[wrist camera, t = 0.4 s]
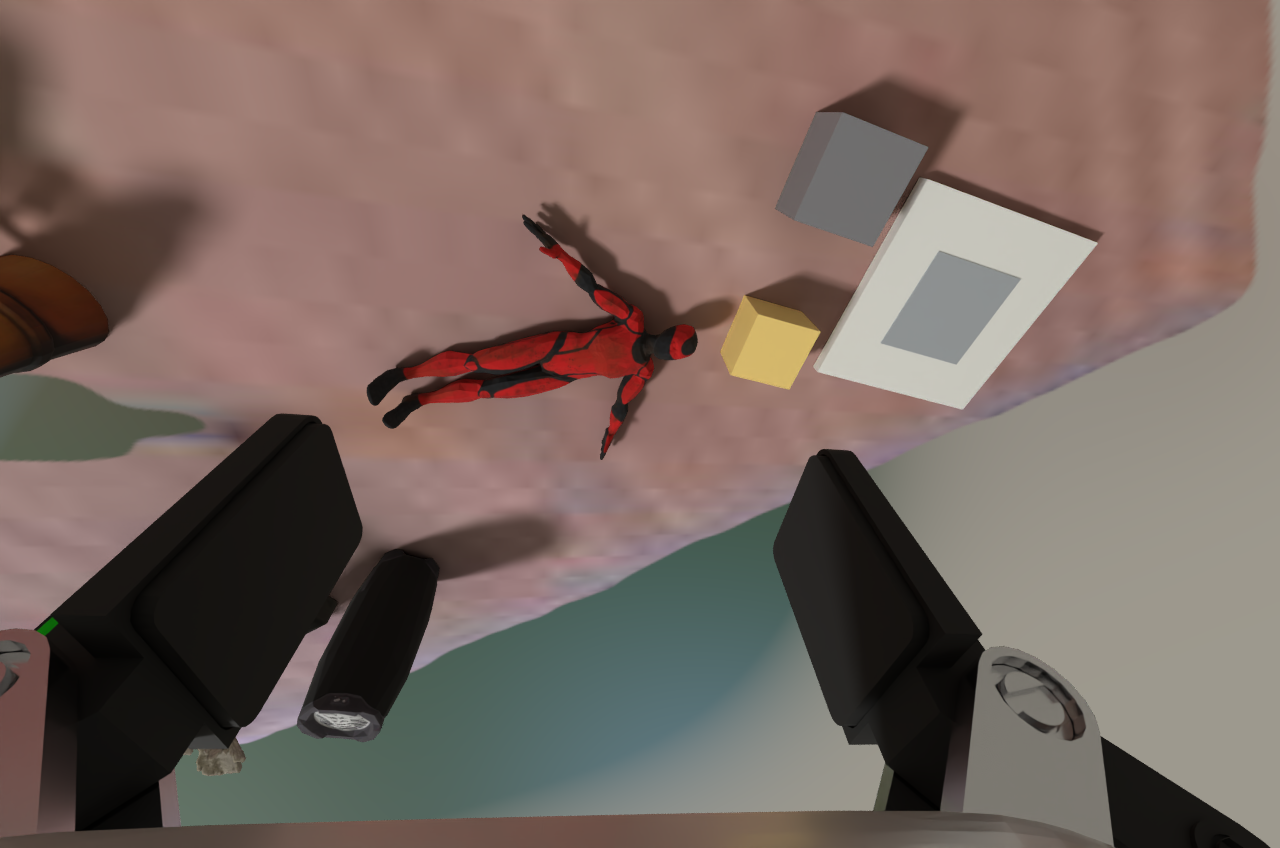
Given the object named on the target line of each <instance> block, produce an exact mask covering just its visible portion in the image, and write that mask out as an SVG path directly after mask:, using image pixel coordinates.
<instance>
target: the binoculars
mask: <svg viewBox="0 0 1280 848" xmlns="http://www.w3.org/2000/svg"><path fill="white" fill-rule="evenodd" d="M108 332H109V329H108V320H107V317H106V315H105V313H104V311H103V309H102V307H101V305H100V304H99V303H98V302H97V301H96V299H95V298H94V297H93V296H92V295H91V294H90V292H89V291H88V290H87V289H85V288H84V287H83V286H82V285H81V284H79V283H78V282H77V281H76V280H75V279H73V278H72V277H71V276H69V275H67V274H66V273H64V272H62V271H60V270H59V269H57V268H55V267H54V266H52V265H49V264H47V263H44V262H41V261H39V260H36V259H34V258H30V257H24V256H18V255H8V256H1V257H0V377H3V376H6V375H9V374H12V373H19V372H27V371H31V370H34V369H36V368H38V367H40V366H42V365H43V364H45V363H47V362H48V361H50V360H51V359H55V358H58V357H61V356H65V355H68V354H71V353H74V352H78V351H81V350H84V349H88V348H91V347H94V346H96V345H98V344H100V343H101V342H103V341H105V338H106V336H107V334H108Z"/></svg>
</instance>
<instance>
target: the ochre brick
mask: <svg viewBox="0 0 1280 848" xmlns="http://www.w3.org/2000/svg"><path fill="white" fill-rule="evenodd" d="M819 334H820V331H819V330H818V328H817V327H816V326H815V325H814V324H813V323H812V322H811V321H810V320H809V319H808V318H807V317H806V316H805V315H804V314H803V313H802V311H798V310H795V309H791V308H788V307H784V306H781V305H777V304H774V303H770V302H767V301H763V300H760V299H756V298H753V297H749V296H746V295H744V297H743V300H742V302H741V304H740V307H739V309H738V311H737V314H736V316H735V318H734V321H733V323H732V326H731V328H730V330H729V333H728V335H727V337H726V340H725V342H724V344H723V347H722V349H721V351H720V352H721V355H722V357H723V359H724V361H725V364H726V366H727V368H728V370H729V373H730V375H733V376H737V377H741V378H745V379H749V380H753V381H757V382H761V383H765V384H769V385H773V386H777V387H781V388H785V389H790V387H791V385H792V383H793V382H794V380H795V378H796V376H797V374H798V372H799V371H800V369H801V367H802V365H803V363H804V361H805V360H806V358H807V356H808V354H809V352H810V350H811V349H812V347H813V345H814V343H815V341H816V339H817V338H818V336H819Z"/></svg>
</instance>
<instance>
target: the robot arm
mask: <svg viewBox="0 0 1280 848" xmlns="http://www.w3.org/2000/svg"><path fill="white" fill-rule="evenodd" d="M361 537H362V523H361V520H360V517H359V514H358V511H357V508H356V504H355V501H354V498H353V495H352V492H351V489H350V486H349V483H348V480H347V477H346V474H345V470H344V467H343V464H342V461H341V458H340V455H339V452H338V449H337V446H336V443H335V440H334V437H333V433H332V431H331V429H330V427H329V426H328V425H326V424H322V422H321V420H320V419H319V418H318V417H316V416H312V415H297V414H276V415H275V416H273V417H272V418H271V419H269V420H268V421H267V422H266V423H265V424H264V425H263V426H262V427H260V428H259V429H258V430H257V431H256V432H255V433H254V434H253V435H251V436H250V437H249V438H248V439H247V440H246V441H245V442H244V443H243V444H241V445H240V446H239V447H238V448H237V449H236V450H235V451H234V452H232V453H231V454H230V455H229V456H228V457H227V458H226V459H225V460H223V461H222V462H221V463H220V464H219V465H218V466H217V467H216V468H214V469H213V470H212V471H211V472H210V473H209V474H208V475H207V476H205V477H204V478H203V479H202V480H201V481H200V482H199V483H198V484H196V485H195V486H194V487H193V488H192V489H191V490H190V491H189V492H187V493H186V494H185V495H184V496H183V497H182V498H181V499H180V500H179V501H177V502H176V503H175V504H174V505H173V506H172V507H171V508H170V509H168V510H167V511H166V512H165V513H164V514H163V515H162V516H161V517H159V518H158V519H157V520H156V521H155V522H154V523H153V524H152V525H150V526H149V527H148V528H147V529H146V530H145V531H144V532H143V533H141V534H140V535H139V536H138V537H137V538H136V539H135V540H134V541H132V542H131V543H130V544H129V545H128V546H127V547H126V548H125V549H123V550H122V551H121V552H120V553H119V554H118V555H117V556H116V557H115V558H113V559H112V560H111V561H110V562H109V563H108V564H107V565H106V566H104V567H103V568H102V569H101V570H100V571H99V572H98V573H97V574H95V575H94V576H93V577H92V578H91V579H90V580H89V581H88V582H86V583H85V584H84V585H83V586H82V587H81V588H80V589H79V590H77V591H76V592H75V593H74V594H73V595H72V596H71V597H70V598H68V599H67V600H66V601H65V602H64V603H63V604H62V605H61V606H59V607H58V608H57V609H56V610H55V611H54V612H53V613H52V614H51V616H52V617H53V618H54V619H55V620H56V621H57V622H58V624H57V625H56V626H55V627H54V628H53V629H52V630H51V631H50V632H48V633H47V634H46V635H45V636H44V635H42V634H40V633H39V632H37V631H35V630H28V629H17V628H15V629H8V630H1V631H0V848H1270V847H1269V846H1268V845H1267V844H1266V843H1264V842H1263V841H1262V840H1260V839H1259V838H1258V837H1256V836H1255V835H1253V834H1252V833H1251V832H1249V831H1248V830H1246V829H1245V828H1244V827H1242V826H1241V825H1240V824H1238V823H1236V822H1235V821H1233V820H1232V819H1230V818H1229V817H1227V816H1225V815H1224V814H1222V813H1220V812H1219V811H1218V810H1216V809H1214V808H1213V807H1211V806H1210V805H1208V804H1207V803H1205V802H1203V801H1202V800H1200V799H1199V798H1197V797H1196V796H1194V795H1192V794H1191V793H1189V792H1188V791H1186V790H1185V789H1183V788H1181V787H1180V786H1178V785H1177V784H1175V783H1174V782H1172V781H1170V780H1169V779H1167V778H1165V777H1164V776H1162V775H1161V774H1159V773H1158V772H1156V771H1155V770H1153V769H1152V768H1150V767H1148V766H1147V765H1145V764H1144V763H1142V762H1141V761H1139V760H1137V759H1136V758H1134V757H1133V756H1131V755H1130V754H1128V753H1126V752H1125V751H1123V750H1122V749H1120V748H1119V747H1117V746H1115V745H1114V744H1112V743H1111V742H1109V741H1108V740H1106V739H1104V738H1103V737H1101V736H1100V731H1099V728H1098V724H1097V721H1096V718H1095V716H1094V714H1093V712H1092V711H1091V709H1090V708H1089V706H1088V704H1087V702H1086V701H1085V699H1084V698H1083V697H1082V696H1081V695H1080V694H1079V693H1078V691H1077V690H1076V689H1075V688H1074V687H1073V685H1072V684H1071V683H1070V682H1069V681H1067V680H1066V679H1065V678H1064V677H1063V676H1061V675H1060V674H1059V673H1058V672H1057V671H1056V670H1055V669H1053V668H1052V667H1050V666H1049V665H1047V664H1046V663H1044V662H1042V661H1041V660H1039V659H1038V658H1036V657H1034V656H1032V655H1030V654H1028V653H1025V652H1023V651H1021V650H1019V649H1014V648H1010V647H1005V646H999V647H991V648H989V649H987V650H986V651H985V649H984V648H983V646H982V645H981V644H980V642H979V641H978V638H979V637H980V636H981V635H982V633H981V632H980V630H979V629H978V627H977V626H976V625H975V623H974V622H973V620H972V619H971V618H970V616H969V615H968V613H967V612H966V610H965V609H964V608H963V606H962V605H961V603H960V602H959V601H958V599H957V598H956V596H955V595H954V594H953V592H952V591H951V589H950V588H949V587H948V585H947V584H946V582H945V581H944V579H943V578H942V577H941V575H940V574H939V572H938V571H937V570H936V568H935V567H934V565H933V564H932V562H931V561H930V560H929V558H928V557H927V555H926V554H925V553H924V551H923V550H922V548H921V547H920V546H919V544H918V543H917V541H916V540H915V539H914V537H913V536H912V534H911V533H910V531H909V530H908V529H907V527H906V526H905V524H904V523H903V522H902V520H901V519H900V517H899V516H898V515H897V513H896V512H895V510H894V509H893V507H892V506H891V505H890V503H889V502H888V500H887V499H886V498H885V496H884V495H883V493H882V492H881V490H880V489H879V488H878V486H877V485H876V483H875V482H874V481H873V479H872V478H871V476H870V475H869V474H868V472H867V471H866V469H865V468H864V467H863V465H862V464H861V462H860V461H859V459H858V458H857V457H856V455H855V454H854V453H853V452H851V451H848V450H832V449H822V450H820V451H819V452H818V453H817V455H813V456H811V457H810V458H809V460H808V462H807V464H806V467H805V469H804V472H803V474H802V476H801V479H800V481H799V484H798V486H797V489H796V491H795V493H794V496H793V498H792V501H791V503H790V506H789V508H788V510H787V513H786V515H785V518H784V520H783V522H782V525H781V527H780V530H779V532H778V534H777V537H776V540H775V542H774V547H773V554H774V559H775V562H776V565H777V568H778V571H779V573H780V576H781V579H782V582H783V585H784V587H785V590H786V593H787V596H788V598H789V601H790V604H791V607H792V609H793V612H794V615H795V617H796V620H797V623H798V626H799V629H800V631H801V634H802V637H803V640H804V642H805V645H806V648H807V651H808V654H809V656H810V659H811V662H812V665H813V668H814V670H815V673H816V676H817V679H818V681H819V684H820V687H821V690H822V692H823V695H824V698H825V700H826V703H827V706H828V709H829V712H830V714H831V716H832V719H833V720H834V722H835V723H836V724H837V725H839V726H842V727H843V730H844V733H845V735H846V738H847V741H848V743H849V745H857V744H858V745H859V744H861V745H862V744H864V745H865V744H878V746H879V748H880V751H881V753H882V756H883V758H884V760H885V765H884V769H883V773H882V777H881V781H880V785H879V789H878V793H877V797H876V801H875V805H874V810H873V811H801V812H800V811H798V812H744V813H743V812H742V813H691V814H690V813H689V814H688V813H687V814H640V815H639V814H638V815H592V816H552V817H550V816H547V817H504V818H463V819H421V820H420V819H419V820H386V821H385V820H384V821H350V822H349V821H347V822H312V823H276V824H239V825H205V826H184V827H183V826H182V827H181V822H180V813H179V804H178V795H177V786H176V777H175V766H176V765H177V763H178V762H179V760H180V759H181V757H182V756H183V754H184V753H185V751H186V750H187V748H189V749H228V748H229V747H230V745H231V743H232V742H233V740H234V739H235V737H236V735H237V734H238V732H239V730H240V729H241V727H246V726H247V725H249V724H250V723H251V722H252V721H253V720H254V719H255V718H256V717H257V715H258V714H259V712H260V711H261V709H262V707H263V706H264V704H265V702H266V701H267V699H268V697H269V695H270V694H271V692H272V690H273V689H274V687H275V685H276V684H277V682H278V680H279V679H280V677H281V675H282V673H283V672H284V670H285V668H286V667H287V665H288V663H289V662H290V660H291V658H292V657H293V655H294V653H295V651H296V650H297V648H298V646H299V645H300V643H301V641H302V640H303V638H304V636H305V634H306V633H307V631H308V629H309V628H310V626H311V624H312V623H313V621H314V619H315V618H316V616H317V614H318V612H319V611H320V609H321V607H322V606H323V604H324V602H325V601H326V599H327V597H328V596H329V594H330V592H331V590H332V589H333V587H334V585H335V584H336V582H337V580H338V579H339V577H340V575H341V574H342V572H343V570H344V568H345V567H346V565H347V563H348V562H349V560H350V558H351V557H352V555H353V553H354V552H355V550H356V548H357V546H358V545H359V543H360V540H361Z"/></svg>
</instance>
